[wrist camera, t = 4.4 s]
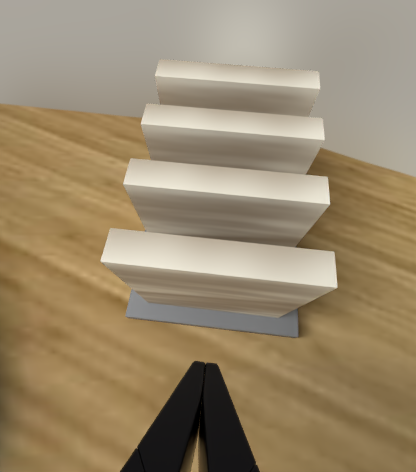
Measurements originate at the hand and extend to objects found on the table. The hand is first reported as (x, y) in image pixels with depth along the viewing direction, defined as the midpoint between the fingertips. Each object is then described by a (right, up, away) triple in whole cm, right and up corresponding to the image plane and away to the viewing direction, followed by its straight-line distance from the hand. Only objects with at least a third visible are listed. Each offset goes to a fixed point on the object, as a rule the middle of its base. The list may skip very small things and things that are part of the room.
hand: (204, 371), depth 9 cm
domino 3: (+1, +7, +15) cm, 16 cm away
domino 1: (+1, 0, +11) cm, 11 cm away
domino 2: (+1, +3, +13) cm, 13 cm away
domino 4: (+2, +11, +16) cm, 20 cm away
